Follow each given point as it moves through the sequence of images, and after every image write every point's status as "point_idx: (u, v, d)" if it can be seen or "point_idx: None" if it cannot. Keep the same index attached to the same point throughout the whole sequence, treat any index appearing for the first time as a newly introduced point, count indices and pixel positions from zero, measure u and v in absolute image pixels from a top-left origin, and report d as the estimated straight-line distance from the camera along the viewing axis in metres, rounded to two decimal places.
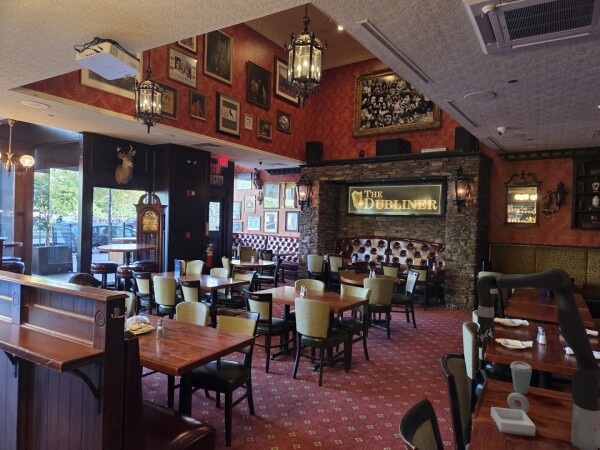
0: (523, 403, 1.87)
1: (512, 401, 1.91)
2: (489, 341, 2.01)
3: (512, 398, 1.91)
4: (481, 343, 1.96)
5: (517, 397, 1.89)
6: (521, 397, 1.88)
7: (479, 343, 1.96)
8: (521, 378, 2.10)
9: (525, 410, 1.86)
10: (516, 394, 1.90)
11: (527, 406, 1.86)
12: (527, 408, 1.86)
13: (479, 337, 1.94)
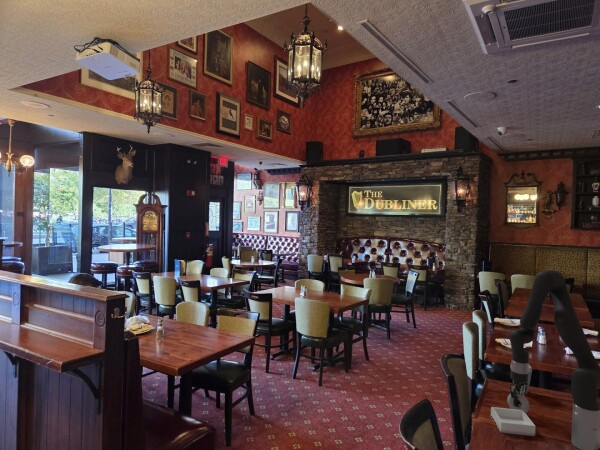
0: (523, 403, 1.87)
1: (512, 401, 1.91)
2: None
3: (512, 398, 1.91)
4: (517, 402, 1.88)
5: None
6: (521, 397, 1.88)
7: (515, 402, 1.88)
8: None
9: (525, 410, 1.86)
10: None
11: (527, 406, 1.86)
12: (527, 408, 1.86)
13: (515, 397, 1.86)
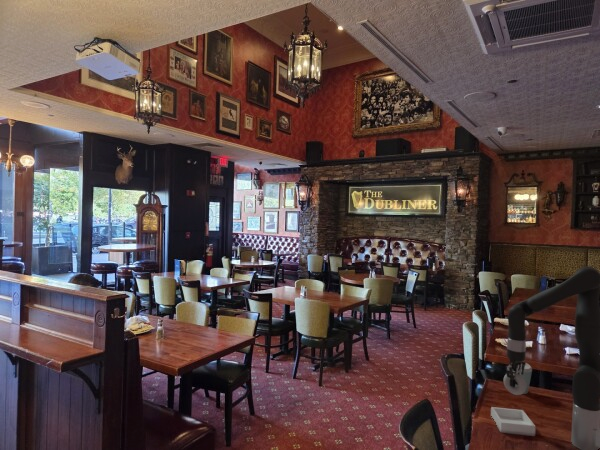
0: (520, 383, 1.77)
1: (508, 381, 1.81)
2: None
3: (508, 378, 1.81)
4: (514, 381, 1.78)
5: None
6: (518, 377, 1.78)
7: (512, 381, 1.78)
8: None
9: (522, 390, 1.76)
10: None
11: (524, 386, 1.76)
12: (524, 388, 1.76)
13: (511, 376, 1.76)
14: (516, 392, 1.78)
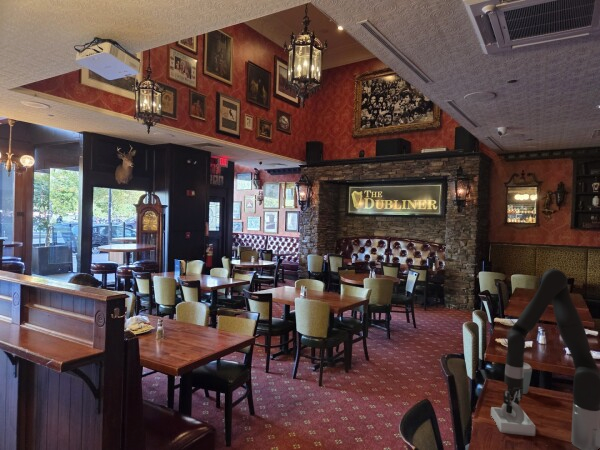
0: (517, 413, 1.75)
1: None
2: None
3: None
4: (510, 408, 1.76)
5: None
6: (515, 406, 1.76)
7: (508, 408, 1.76)
8: None
9: (519, 420, 1.75)
10: None
11: (522, 416, 1.74)
12: (522, 418, 1.74)
13: (508, 402, 1.74)
14: (514, 422, 1.76)
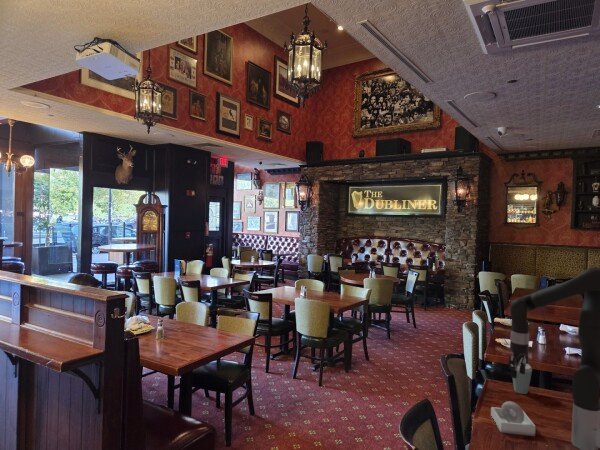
0: (517, 413, 1.75)
1: (506, 410, 1.80)
2: (523, 370, 1.84)
3: (506, 407, 1.79)
4: (515, 373, 1.78)
5: (511, 406, 1.77)
6: (515, 406, 1.76)
7: (513, 373, 1.78)
8: (521, 378, 2.10)
9: (519, 420, 1.75)
10: (510, 403, 1.78)
11: (522, 416, 1.74)
12: (522, 418, 1.74)
13: (513, 366, 1.76)
14: (514, 422, 1.76)
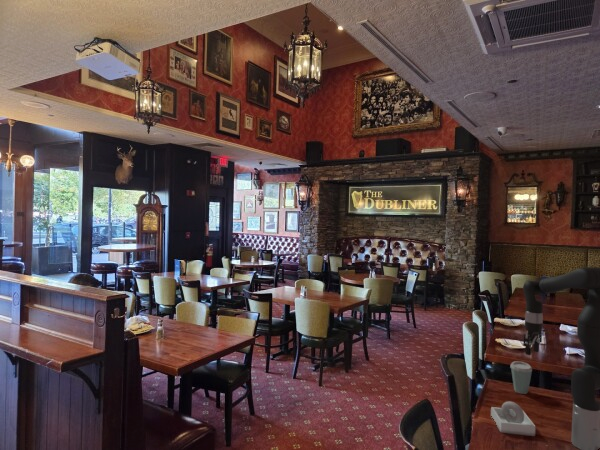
0: (517, 413, 1.75)
1: (506, 410, 1.80)
2: (536, 348, 1.96)
3: (506, 407, 1.79)
4: (530, 350, 1.91)
5: (511, 406, 1.77)
6: (515, 406, 1.76)
7: (527, 350, 1.91)
8: (521, 378, 2.10)
9: (519, 420, 1.75)
10: (510, 403, 1.78)
11: (522, 416, 1.74)
12: (522, 418, 1.74)
13: (528, 344, 1.89)
14: (514, 422, 1.76)
